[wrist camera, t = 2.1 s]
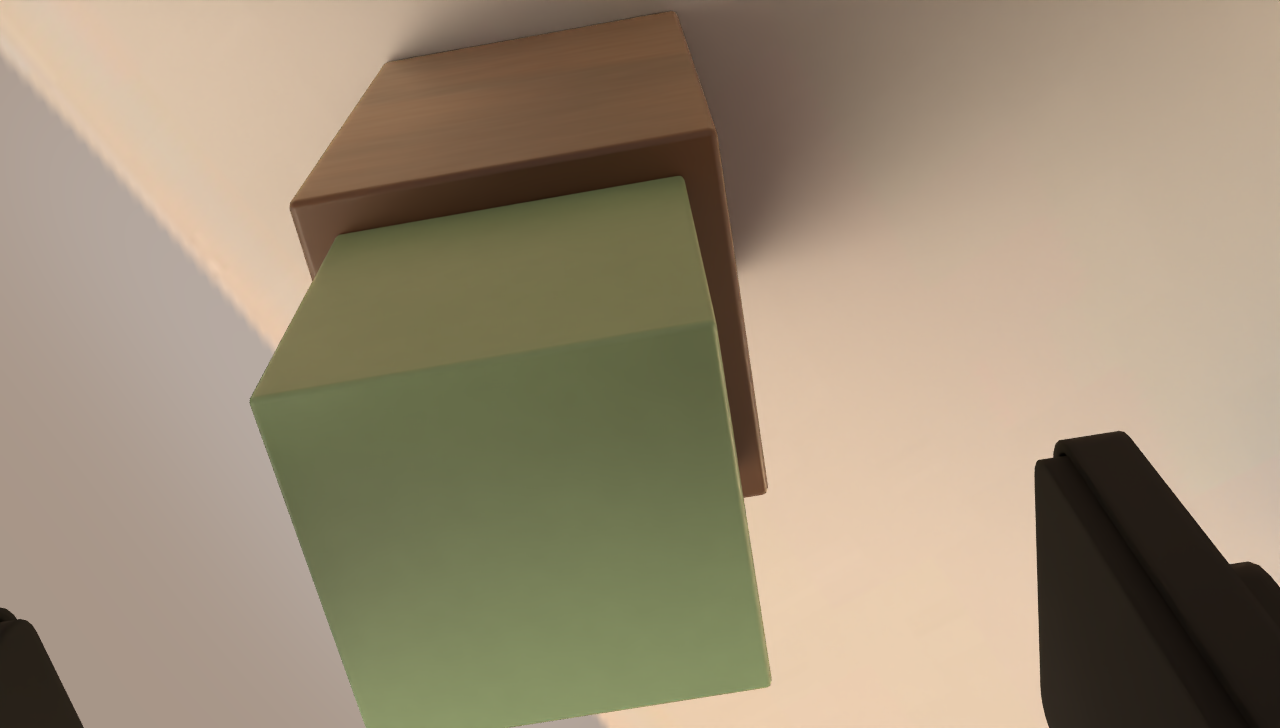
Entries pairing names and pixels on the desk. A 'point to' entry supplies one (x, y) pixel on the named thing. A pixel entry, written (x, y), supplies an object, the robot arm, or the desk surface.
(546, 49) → the base block
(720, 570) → the top block
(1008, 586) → the desk surface
